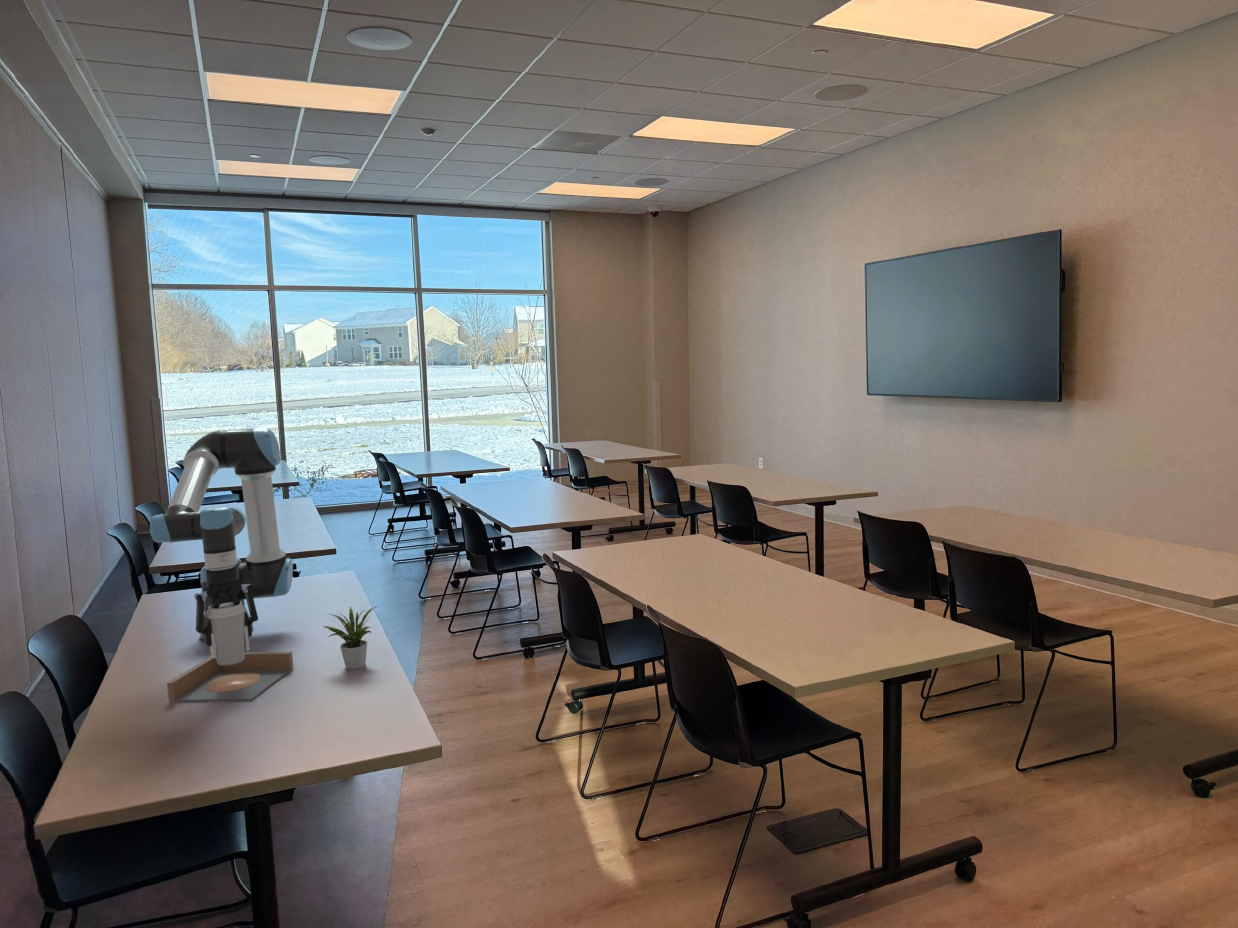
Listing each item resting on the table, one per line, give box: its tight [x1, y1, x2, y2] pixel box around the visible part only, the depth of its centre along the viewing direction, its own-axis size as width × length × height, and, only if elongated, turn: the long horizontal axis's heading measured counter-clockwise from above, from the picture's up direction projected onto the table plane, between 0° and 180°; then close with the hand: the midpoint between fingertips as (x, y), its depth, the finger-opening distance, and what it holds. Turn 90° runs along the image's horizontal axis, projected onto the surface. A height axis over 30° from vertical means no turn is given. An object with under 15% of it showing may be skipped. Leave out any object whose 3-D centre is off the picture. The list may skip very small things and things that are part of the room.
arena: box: [166, 651, 294, 703], centre depth 213 cm, size 22×22×5 cm
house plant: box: [322, 606, 377, 670], centre depth 223 cm, size 14×14×16 cm
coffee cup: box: [206, 601, 247, 665], centre depth 212 cm, size 10×10×15 cm
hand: (230, 652), depth 212 cm, fingers closed on coffee cup, 7 cm apart
